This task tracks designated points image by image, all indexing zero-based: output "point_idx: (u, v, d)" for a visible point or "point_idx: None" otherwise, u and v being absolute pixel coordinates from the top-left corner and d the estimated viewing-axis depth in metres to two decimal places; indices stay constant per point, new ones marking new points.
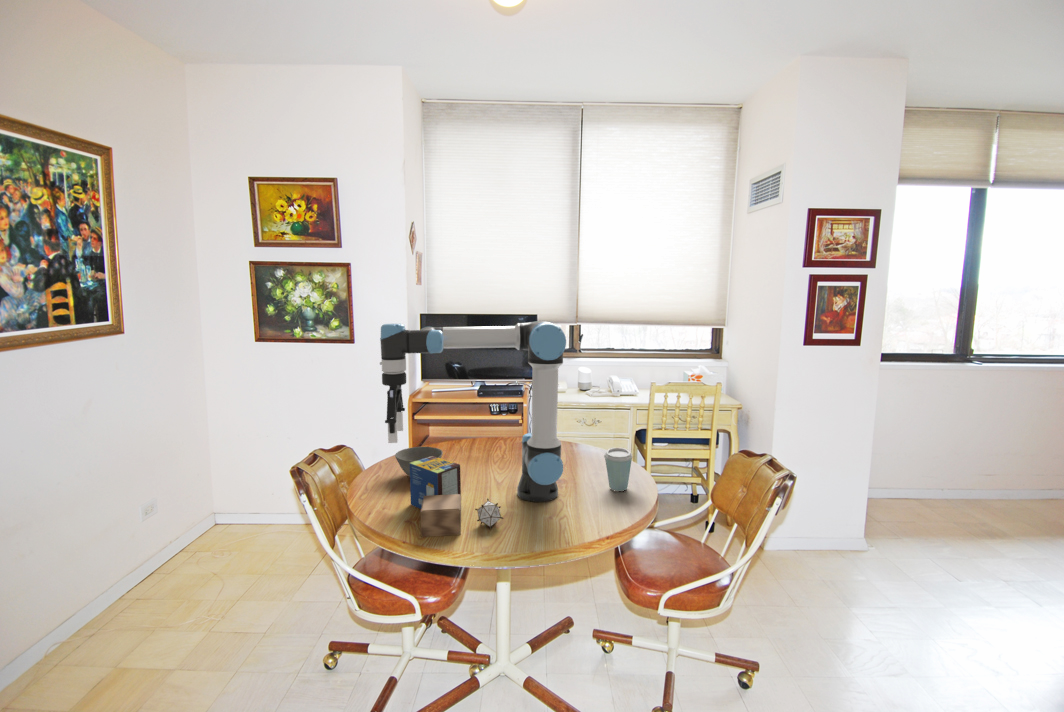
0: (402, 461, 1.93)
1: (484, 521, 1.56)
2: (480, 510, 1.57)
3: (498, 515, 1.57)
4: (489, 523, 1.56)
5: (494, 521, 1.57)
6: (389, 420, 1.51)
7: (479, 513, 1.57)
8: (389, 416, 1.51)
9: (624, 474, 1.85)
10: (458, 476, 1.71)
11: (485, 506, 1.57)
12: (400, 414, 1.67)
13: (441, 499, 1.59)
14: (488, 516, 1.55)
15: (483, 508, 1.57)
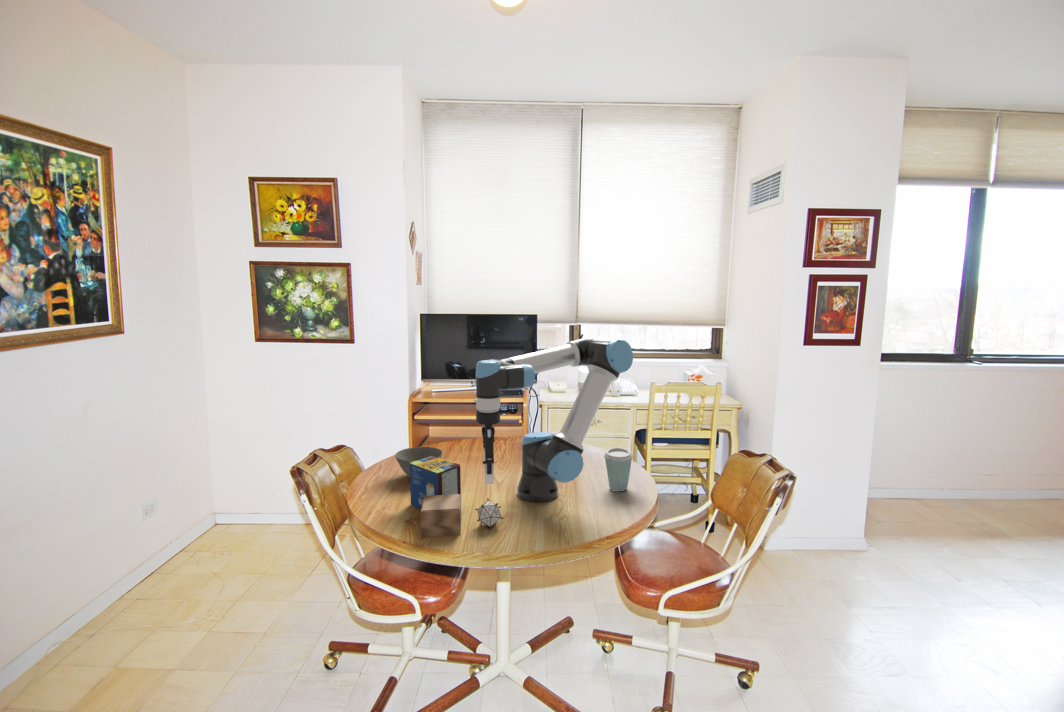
0: (402, 461, 1.93)
1: (484, 521, 1.56)
2: (480, 510, 1.57)
3: (498, 515, 1.57)
4: (489, 523, 1.56)
5: (494, 521, 1.57)
6: (488, 461, 1.46)
7: (479, 513, 1.57)
8: (488, 457, 1.47)
9: (624, 474, 1.85)
10: (458, 476, 1.71)
11: (485, 506, 1.57)
12: None
13: (441, 499, 1.59)
14: (488, 516, 1.55)
15: (483, 508, 1.57)
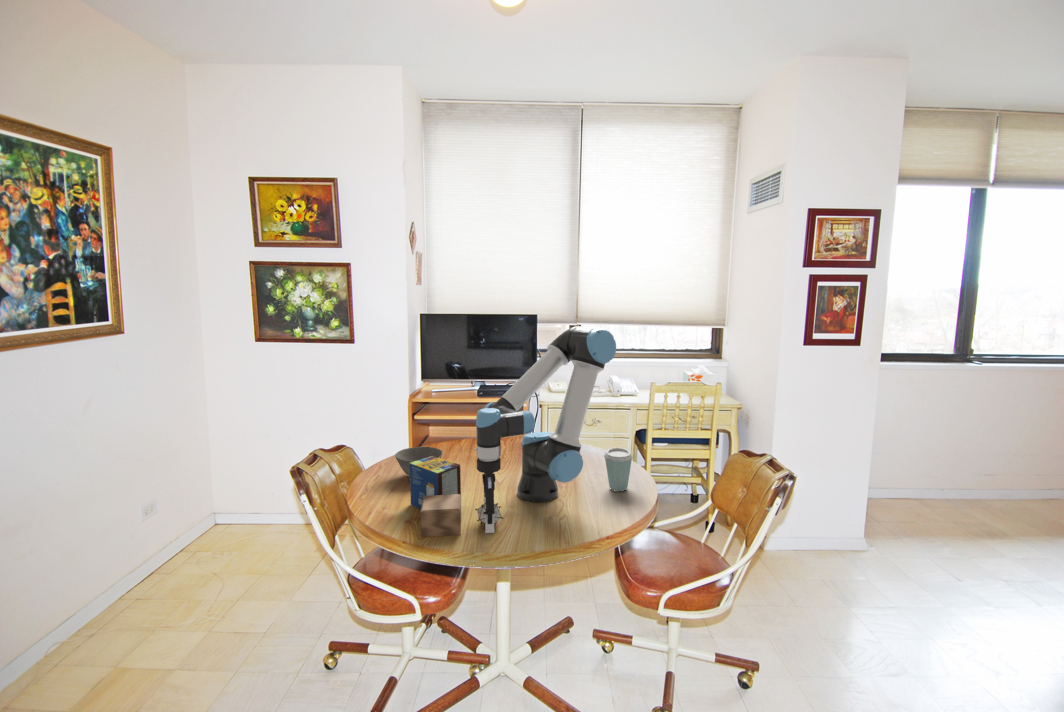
0: (402, 461, 1.93)
1: (484, 521, 1.56)
2: (480, 510, 1.57)
3: (498, 515, 1.57)
4: None
5: (494, 521, 1.57)
6: (489, 513, 1.50)
7: (479, 513, 1.57)
8: (489, 508, 1.50)
9: (624, 474, 1.85)
10: (458, 476, 1.71)
11: (485, 506, 1.57)
12: None
13: (441, 499, 1.59)
14: None
15: (483, 508, 1.56)
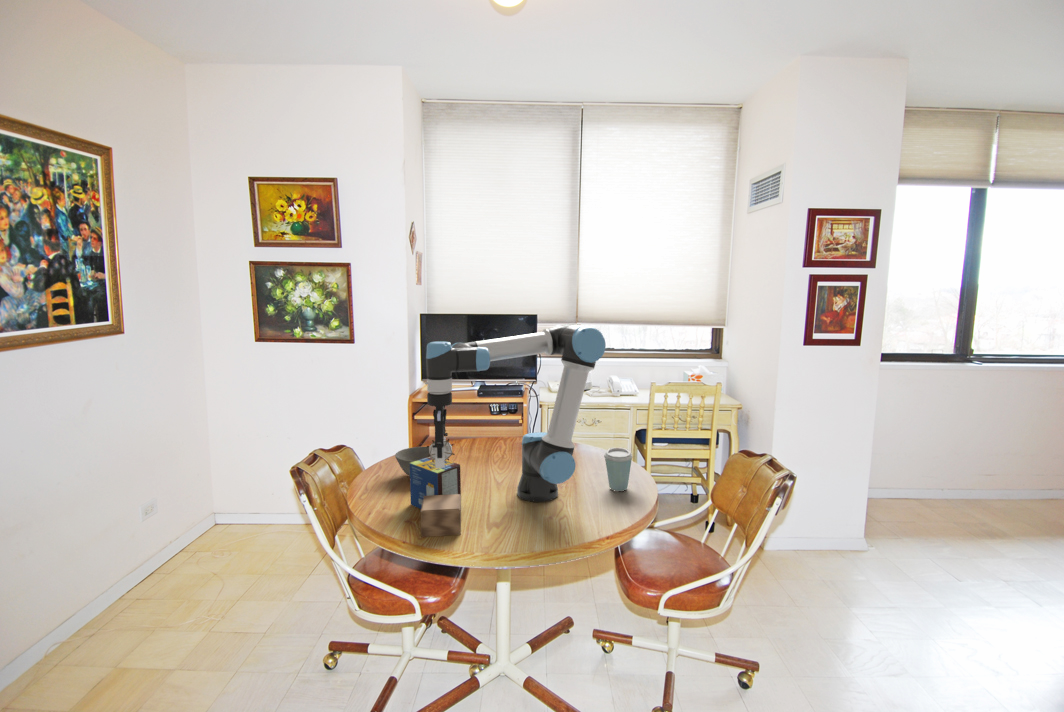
0: (402, 461, 1.93)
1: None
2: (431, 446, 1.54)
3: (449, 451, 1.53)
4: None
5: (445, 457, 1.53)
6: (437, 445, 1.47)
7: (430, 449, 1.54)
8: (438, 441, 1.47)
9: (624, 474, 1.85)
10: (458, 476, 1.71)
11: None
12: (443, 439, 1.60)
13: (441, 499, 1.59)
14: None
15: (434, 444, 1.53)
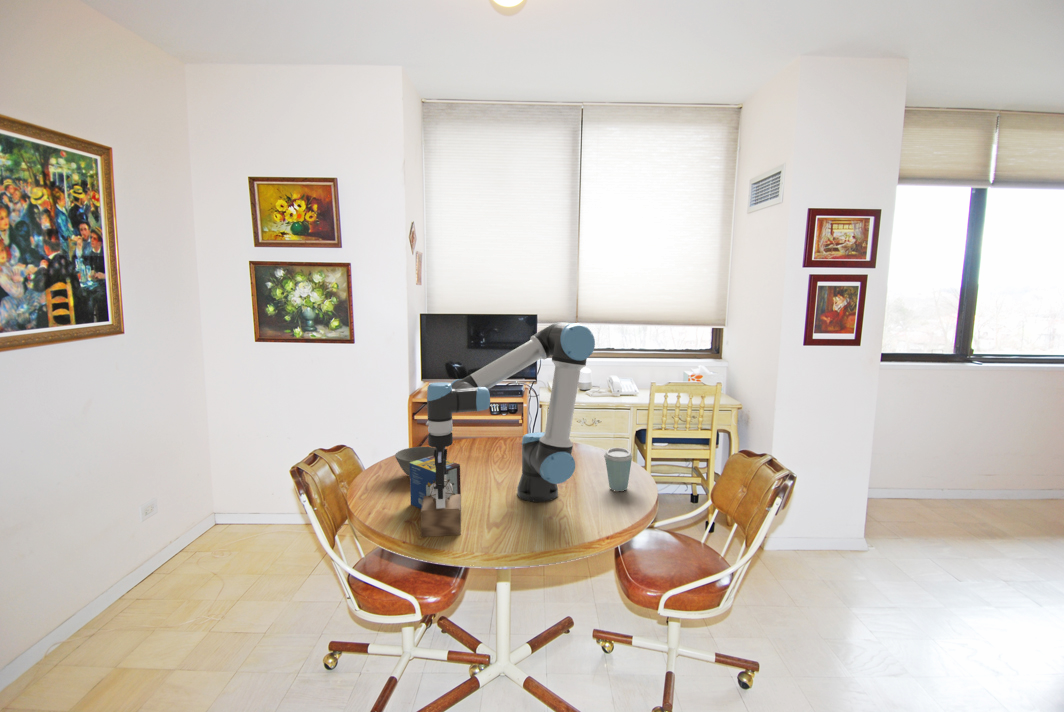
0: (402, 461, 1.93)
1: (435, 497, 1.54)
2: (432, 486, 1.55)
3: (450, 491, 1.55)
4: None
5: (446, 497, 1.55)
6: (438, 487, 1.48)
7: (431, 489, 1.55)
8: (438, 483, 1.48)
9: (624, 474, 1.85)
10: (458, 476, 1.71)
11: None
12: (444, 478, 1.61)
13: None
14: None
15: (435, 484, 1.54)
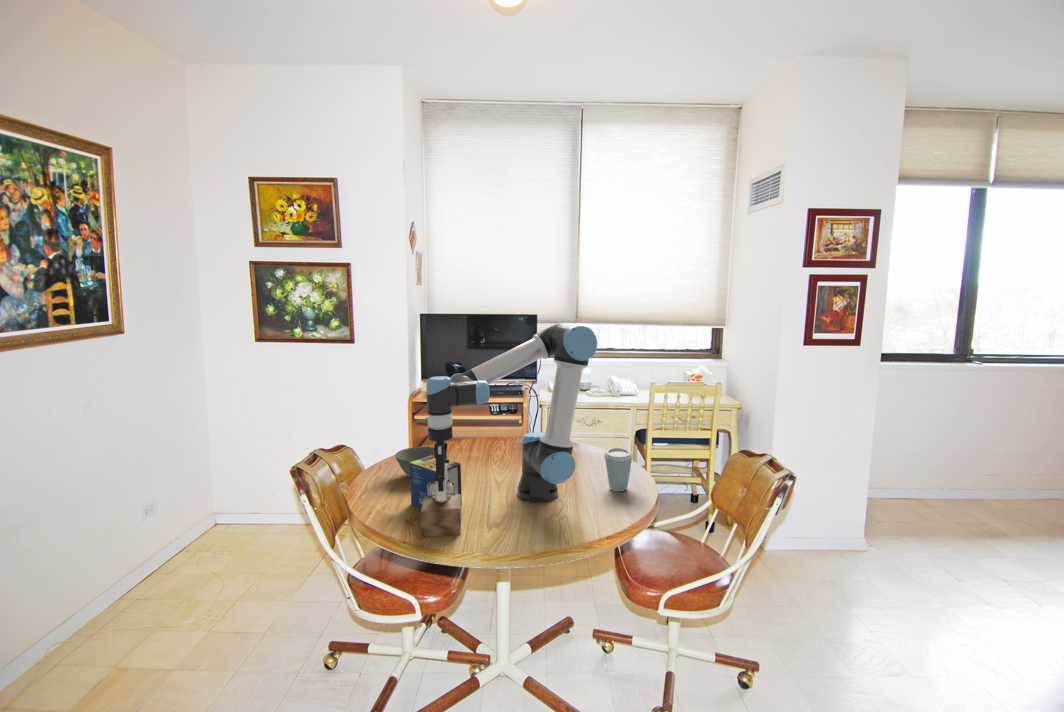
0: (402, 461, 1.93)
1: (436, 497, 1.54)
2: (432, 486, 1.55)
3: (450, 491, 1.55)
4: None
5: (446, 497, 1.55)
6: (438, 479, 1.46)
7: (431, 489, 1.55)
8: (439, 474, 1.47)
9: (624, 474, 1.85)
10: (459, 475, 1.71)
11: None
12: (445, 467, 1.63)
13: None
14: None
15: (435, 484, 1.54)
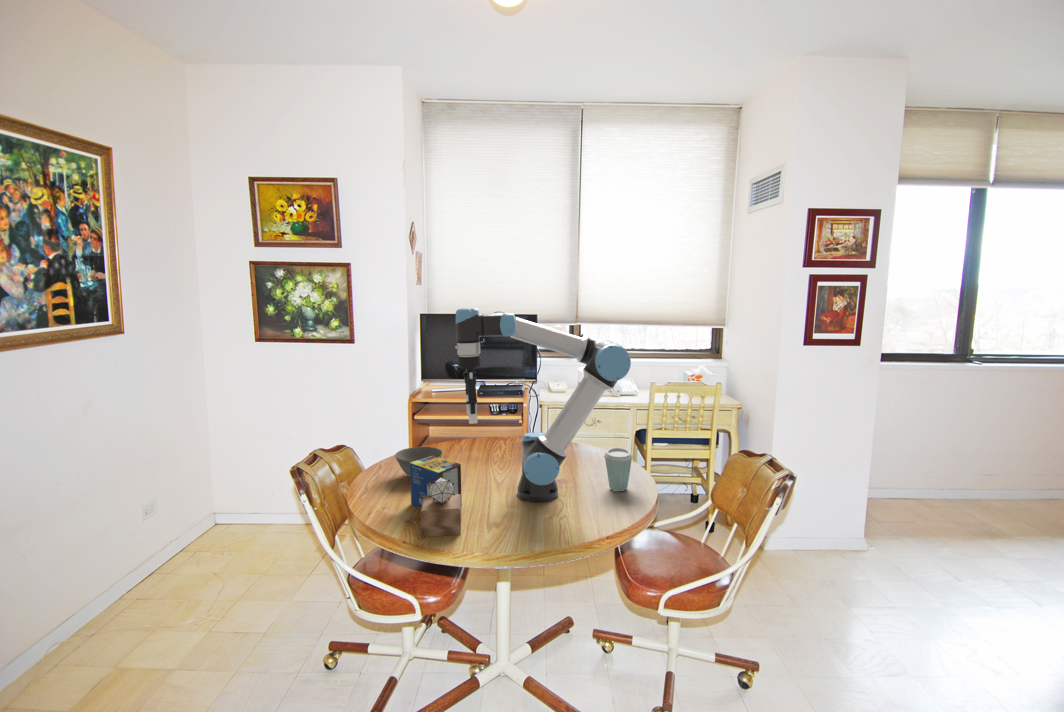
0: (402, 461, 1.93)
1: (436, 497, 1.54)
2: (432, 486, 1.55)
3: (450, 491, 1.55)
4: (441, 499, 1.54)
5: (446, 497, 1.55)
6: (471, 401, 1.55)
7: (431, 489, 1.55)
8: (471, 397, 1.55)
9: (624, 474, 1.85)
10: (459, 475, 1.71)
11: (437, 482, 1.55)
12: None
13: None
14: (439, 492, 1.53)
15: (435, 484, 1.54)
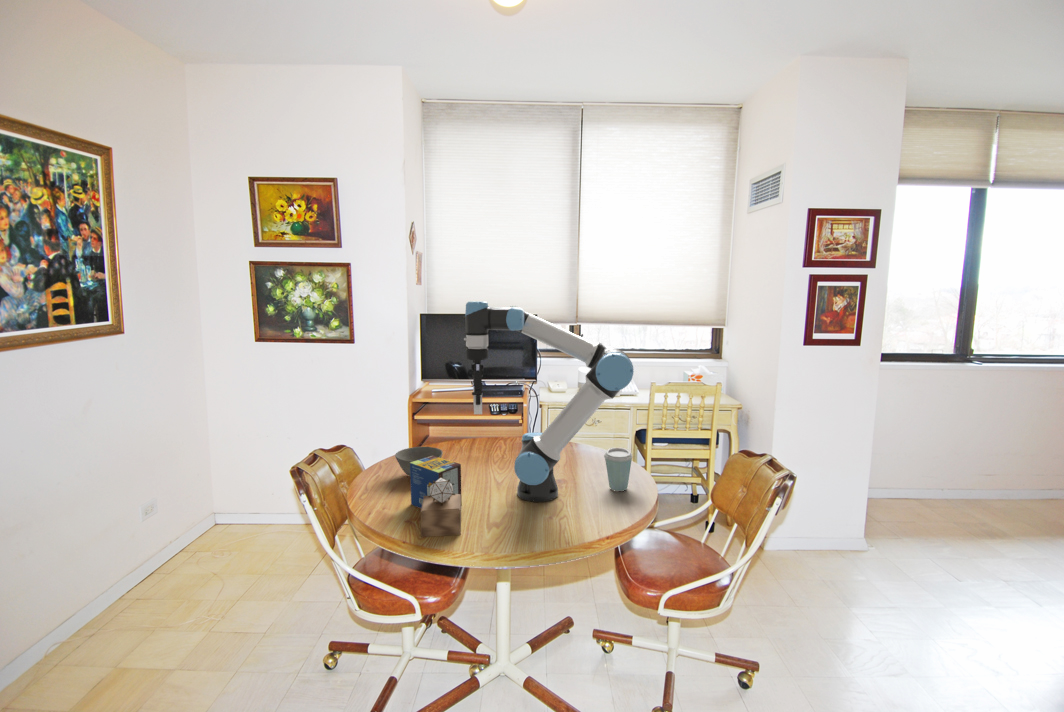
0: (402, 461, 1.93)
1: (436, 497, 1.54)
2: (432, 486, 1.55)
3: (450, 491, 1.55)
4: (441, 499, 1.54)
5: (446, 497, 1.55)
6: (477, 392, 1.58)
7: (431, 489, 1.55)
8: (477, 388, 1.59)
9: (624, 474, 1.85)
10: (459, 475, 1.71)
11: (437, 482, 1.55)
12: None
13: None
14: (439, 492, 1.53)
15: (435, 484, 1.54)
